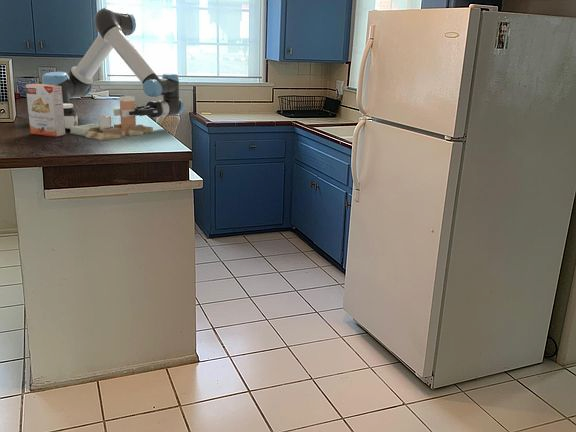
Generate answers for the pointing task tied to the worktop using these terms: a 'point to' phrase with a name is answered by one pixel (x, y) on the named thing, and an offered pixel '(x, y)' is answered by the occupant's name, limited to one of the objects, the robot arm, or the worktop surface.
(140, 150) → the worktop surface
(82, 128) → the tray
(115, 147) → the worktop surface
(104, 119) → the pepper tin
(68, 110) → the spread jar
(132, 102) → the lidded box
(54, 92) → the cracker box
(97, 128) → the wooden blocks
